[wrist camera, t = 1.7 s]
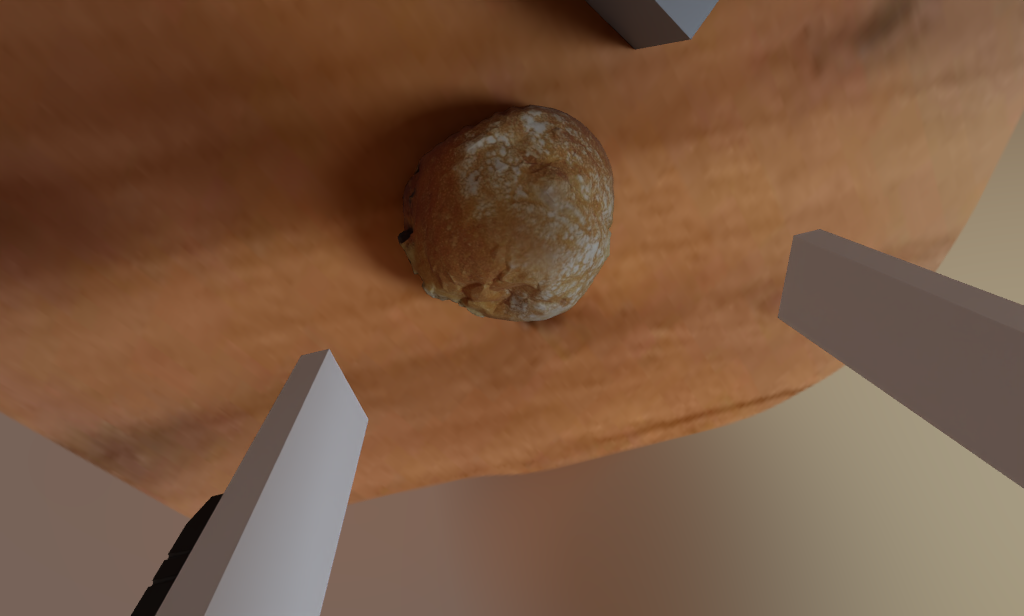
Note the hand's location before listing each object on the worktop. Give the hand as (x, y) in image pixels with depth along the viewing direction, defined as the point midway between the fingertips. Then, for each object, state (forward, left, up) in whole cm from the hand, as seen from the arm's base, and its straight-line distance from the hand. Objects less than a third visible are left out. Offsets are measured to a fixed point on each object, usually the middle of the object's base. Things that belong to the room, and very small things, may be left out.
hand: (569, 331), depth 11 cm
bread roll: (0, 0, -11) cm, 11 cm away
